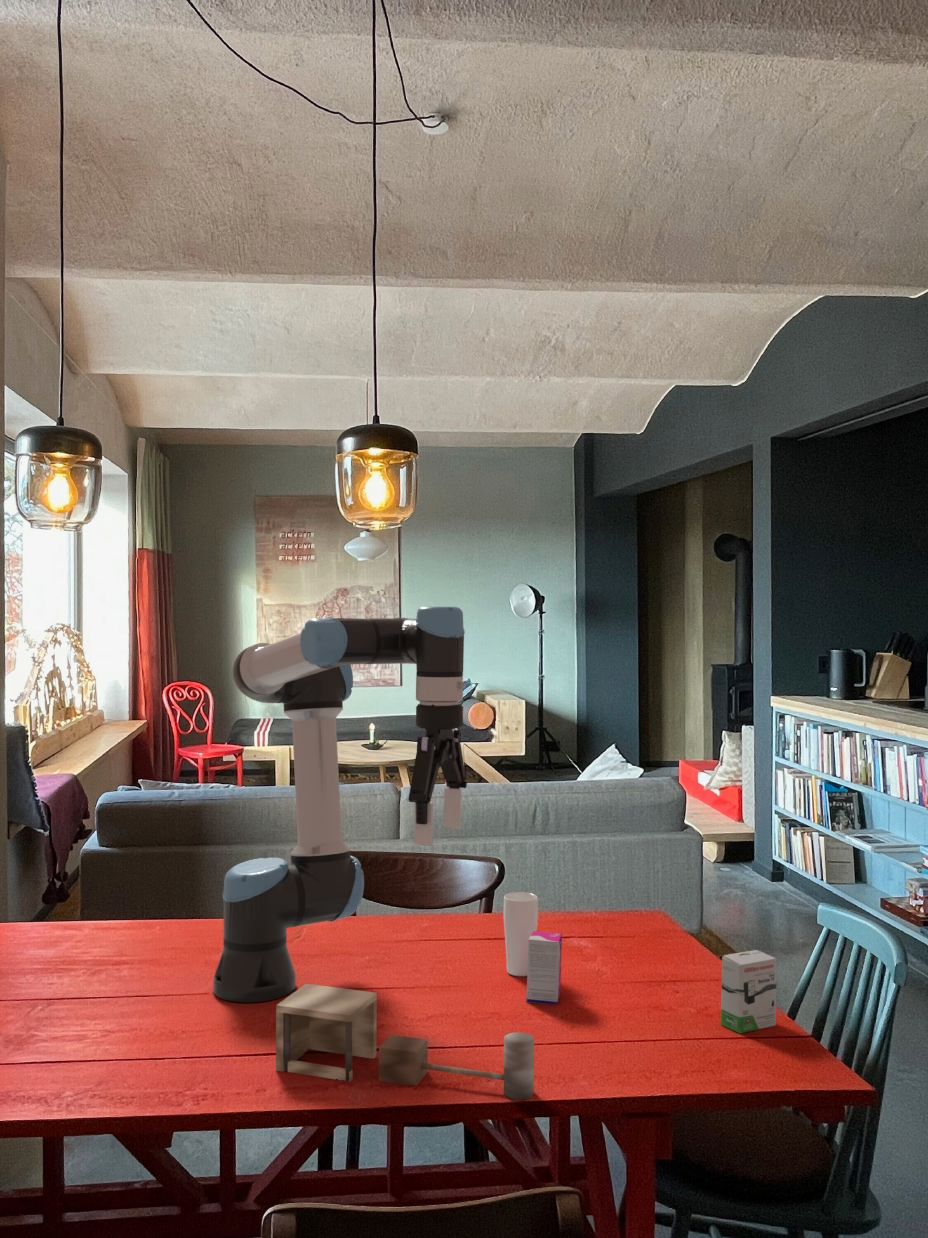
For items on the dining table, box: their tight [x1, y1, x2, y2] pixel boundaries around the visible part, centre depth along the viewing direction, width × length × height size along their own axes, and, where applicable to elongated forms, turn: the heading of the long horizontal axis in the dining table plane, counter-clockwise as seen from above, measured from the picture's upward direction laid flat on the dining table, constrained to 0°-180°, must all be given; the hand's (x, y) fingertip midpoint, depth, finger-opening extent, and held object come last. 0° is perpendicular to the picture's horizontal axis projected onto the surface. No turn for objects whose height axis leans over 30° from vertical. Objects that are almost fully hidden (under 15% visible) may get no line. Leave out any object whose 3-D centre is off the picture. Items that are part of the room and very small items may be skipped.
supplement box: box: [526, 931, 563, 1006], centre depth 190 cm, size 6×6×12 cm
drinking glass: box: [503, 891, 539, 977], centre depth 204 cm, size 7×7×15 cm
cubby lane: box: [275, 983, 378, 1083], centre depth 162 cm, size 12×10×10 cm
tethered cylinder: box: [378, 1031, 535, 1101], centre depth 155 cm, size 23×5×8 cm, turn 73°
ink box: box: [720, 949, 778, 1034], centre depth 178 cm, size 9×5×12 cm, turn 117°
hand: (438, 836), depth 166 cm, fingers open, 13 cm apart
